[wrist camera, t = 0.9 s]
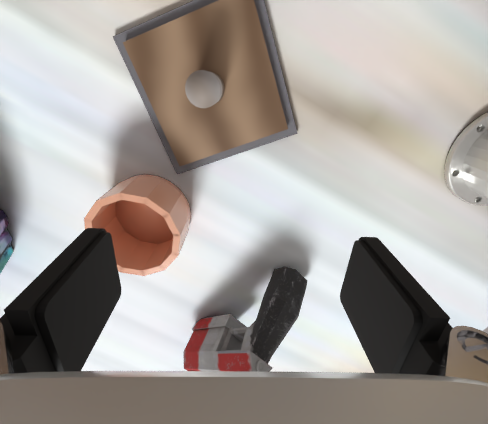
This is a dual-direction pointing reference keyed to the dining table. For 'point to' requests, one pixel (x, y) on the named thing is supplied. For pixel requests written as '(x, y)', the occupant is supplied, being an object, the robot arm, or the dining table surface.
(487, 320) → the dining table surface
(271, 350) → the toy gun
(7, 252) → the decorative bowl
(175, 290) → the dining table surface
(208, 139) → the walnut lid
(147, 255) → the terracotta pot
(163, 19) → the charcoal tray
